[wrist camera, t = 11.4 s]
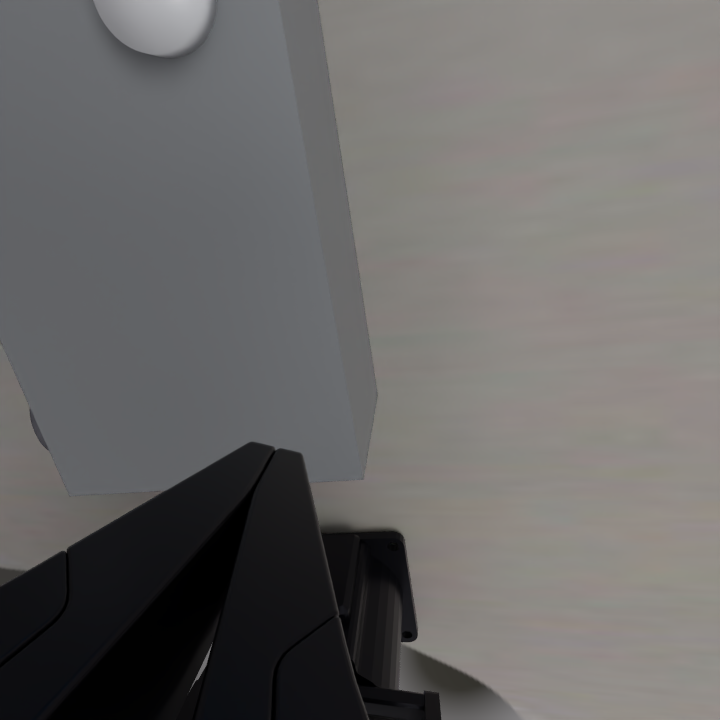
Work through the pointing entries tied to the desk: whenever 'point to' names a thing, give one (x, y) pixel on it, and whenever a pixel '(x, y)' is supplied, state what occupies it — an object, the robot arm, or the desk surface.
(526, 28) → the desk surface
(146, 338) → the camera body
